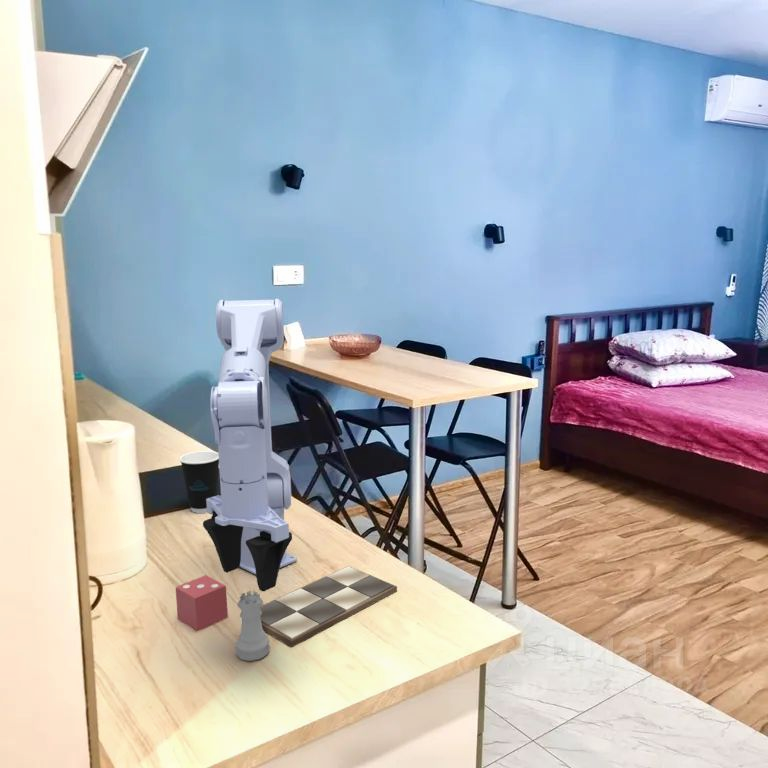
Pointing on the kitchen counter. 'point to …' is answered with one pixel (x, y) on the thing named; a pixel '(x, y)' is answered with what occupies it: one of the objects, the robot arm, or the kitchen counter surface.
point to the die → (201, 602)
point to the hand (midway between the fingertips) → (249, 578)
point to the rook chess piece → (251, 629)
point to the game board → (322, 604)
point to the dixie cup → (200, 478)
